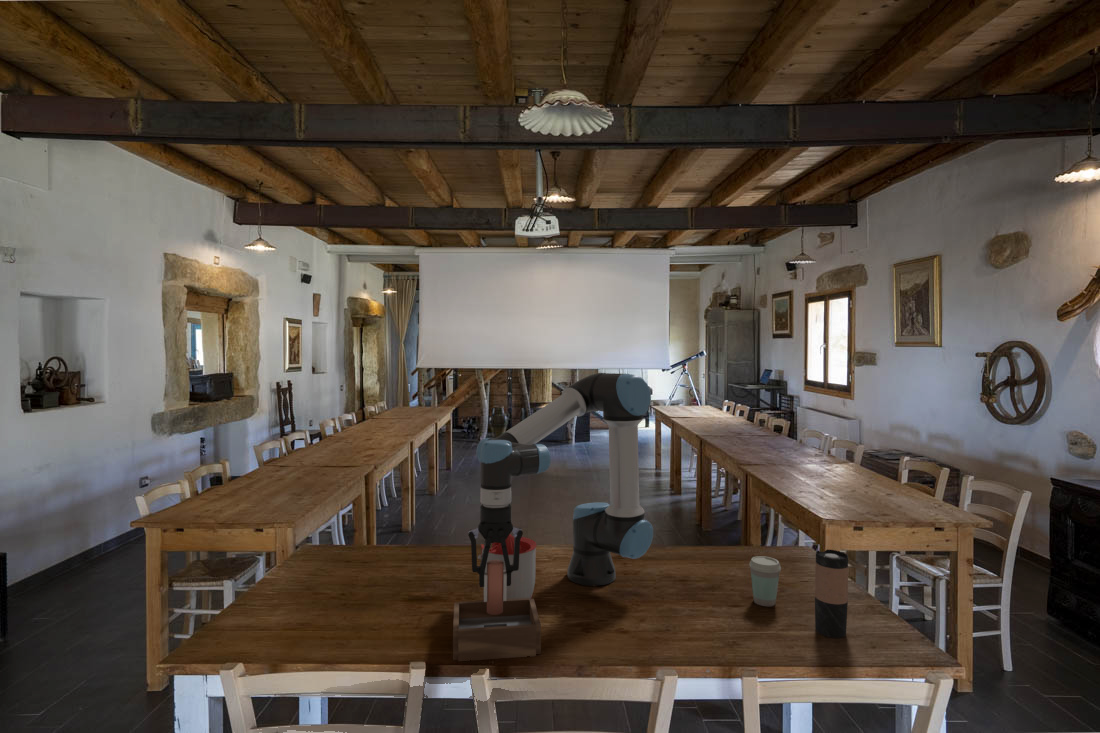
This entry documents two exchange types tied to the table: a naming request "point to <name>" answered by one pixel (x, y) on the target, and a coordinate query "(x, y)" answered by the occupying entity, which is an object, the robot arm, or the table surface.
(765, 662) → the table surface
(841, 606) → the travel mug
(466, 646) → the open box
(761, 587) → the coffee cup
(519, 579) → the citrus juicer
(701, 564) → the table surface
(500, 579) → the peg
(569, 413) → the robot arm
